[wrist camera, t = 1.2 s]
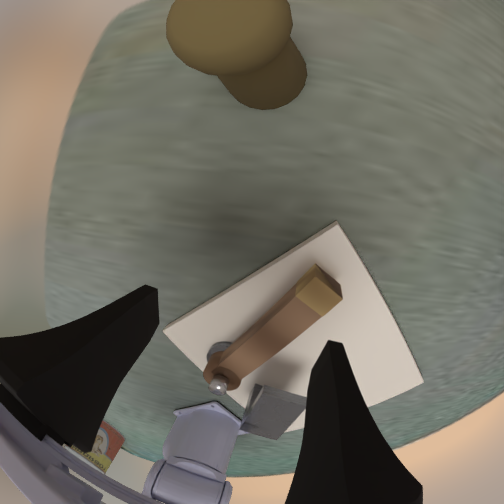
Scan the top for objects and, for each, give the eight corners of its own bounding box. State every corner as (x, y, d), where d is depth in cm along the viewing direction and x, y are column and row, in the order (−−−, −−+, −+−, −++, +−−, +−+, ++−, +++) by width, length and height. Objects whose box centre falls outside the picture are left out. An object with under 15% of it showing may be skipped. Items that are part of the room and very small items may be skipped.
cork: (324, 68, 15) (336, -6, 5) (270, 126, 18) (222, 106, 8) (259, 25, 15) (210, -58, 5) (209, 80, 17) (118, 39, 7)
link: (232, 380, 26) (226, 395, 24) (203, 362, 26) (196, 376, 24) (345, 288, 19) (347, 303, 17) (309, 258, 19) (309, 271, 17)
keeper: (202, 375, 28) (185, 409, 23) (214, 330, 25) (195, 369, 20) (283, 402, 27) (276, 440, 23) (310, 364, 24) (307, 406, 19)
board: (278, 428, 31) (277, 433, 30) (166, 325, 27) (162, 331, 26) (421, 375, 24) (423, 382, 23) (336, 220, 20) (337, 224, 19)
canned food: (127, 435, 46) (105, 472, 35) (123, 444, 51) (104, 476, 40) (87, 407, 46) (62, 442, 35) (87, 420, 51) (66, 450, 40)
